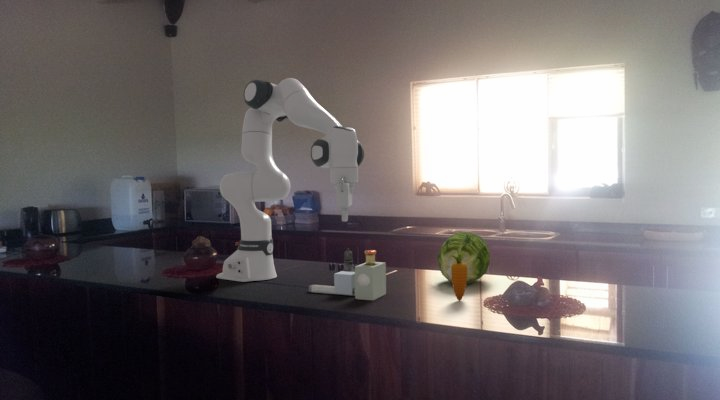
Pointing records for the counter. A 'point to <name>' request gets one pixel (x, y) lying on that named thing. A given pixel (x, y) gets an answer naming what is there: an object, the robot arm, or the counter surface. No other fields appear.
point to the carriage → (344, 282)
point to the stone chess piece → (348, 261)
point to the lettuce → (465, 255)
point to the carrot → (459, 275)
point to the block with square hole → (370, 281)
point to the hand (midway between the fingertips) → (344, 221)
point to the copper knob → (370, 257)
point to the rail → (325, 289)
